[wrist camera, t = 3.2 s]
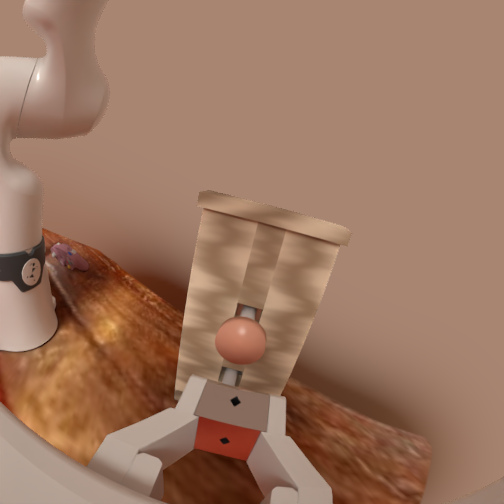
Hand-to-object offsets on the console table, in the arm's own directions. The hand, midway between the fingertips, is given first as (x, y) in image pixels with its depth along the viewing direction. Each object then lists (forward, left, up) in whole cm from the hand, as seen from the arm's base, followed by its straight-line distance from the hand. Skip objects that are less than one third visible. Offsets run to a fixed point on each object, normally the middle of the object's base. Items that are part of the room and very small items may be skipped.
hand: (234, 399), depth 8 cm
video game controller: (-42, +38, -21) cm, 61 cm away
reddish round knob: (0, +16, -8) cm, 18 cm away
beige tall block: (0, +19, -21) cm, 28 cm away
